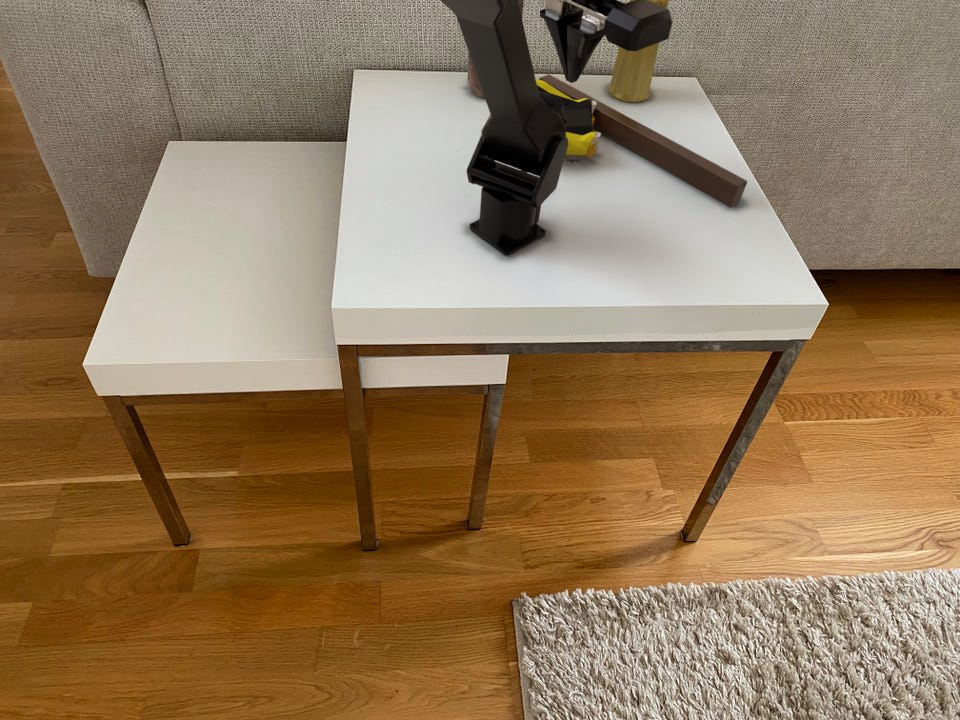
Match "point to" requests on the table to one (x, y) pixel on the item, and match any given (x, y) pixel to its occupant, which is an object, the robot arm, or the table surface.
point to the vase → (634, 70)
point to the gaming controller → (576, 124)
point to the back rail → (660, 149)
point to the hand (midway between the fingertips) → (571, 81)
